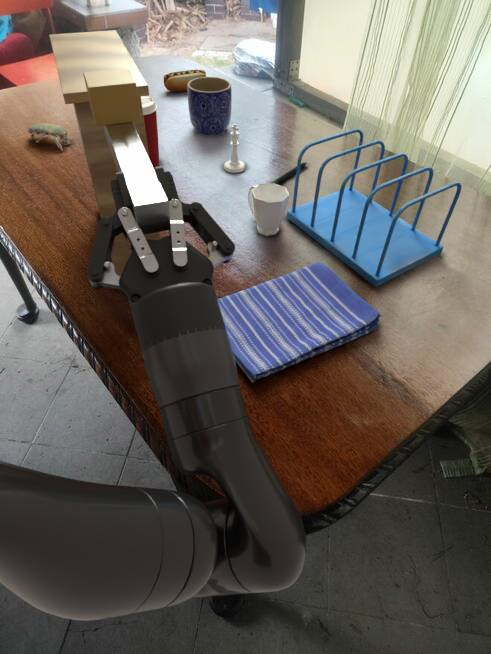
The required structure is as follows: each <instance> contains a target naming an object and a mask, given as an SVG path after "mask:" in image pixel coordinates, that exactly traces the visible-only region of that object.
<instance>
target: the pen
mask: <svg viewBox="0 0 491 654" xmlns="http://www.w3.org/2000/svg"><path fill="white" fill-rule="evenodd" d="M307 164H308V162H301V166H300V170H302V169H304V168H305V167H306V166H307ZM296 170H297V166H295V167H294V168H292V169H290V170H289V171H287V172H286V173H284V174H283V175H281V176H279V177H277V178H276V179H274V180H273V181H272V182H270V183H275V184H278V185H279V184H280V183H282V182H283V181H285V180H287V179H288V178H290V177H292V175H294V174H296Z"/></svg>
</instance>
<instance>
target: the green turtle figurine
mask: <svg viewBox="0 0 491 654" xmlns="http://www.w3.org/2000/svg"><path fill="white" fill-rule="evenodd" d="M27 132H28V133H29V134H31V135H30V137H31V139H29V141H31V142H32V141H33V140H34V138H35V135H37V136H40V135H42V136H41V137H39V139H36V140H35V143H40V142H41V140H42V139H43V138H46V137H51V139H52V140H53V142H54V143H55V144H56V146H57V147H58V148H59V149H60V151H61V152H62V151H64V150H63V147H62V144H61V143H60V141H63V142H64V143H63V145H65V146H67V145H69V144H71V141H70V139H69V135H68V132H67V129H66V128H65V127H63V125H59V124H57V123H47V122H46V123H45V122H44V123H43V122H35V123H33V124H31V125H30V126H29V127H28V130H27ZM58 138H59V140H58Z"/></svg>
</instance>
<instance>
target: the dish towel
mask: <svg viewBox="0 0 491 654" xmlns="http://www.w3.org/2000/svg"><path fill="white" fill-rule="evenodd" d="M217 300H218V303H219V307H220V310H221V314H222V317H223V320H224V324H225V327H226V331H227V334H228V337H229V341H230V344H231V348H232V351H233V354H234V358H235V363H237V365H238V366H239V368H240V369H241V371H242V372H243V373H244V374H245V375H246V377H247V378H248V379H249V380H250V382H251V383H255V382H256V381H258V380H260V379H262V378H265V377H268V376H271V375H272V374H275V373H277V372H280V371H283V370H284V369H287V368H289V367H291V366H294V365H297V364H299V363H301V362H303V361H305V360H307V359H310V358H311V359H312V358H313V357H315V356H319V355H321V354H323V353H325V352H327V351H329V350H333V349H334V348H337V347H339V346H342V345H345V344H347V343H349V342H352V341H354V340H356V339H358V338H360V337H362V336H365V335H367V334H370V333H371V332H373V331H374V330H377V329H378V328H379V327H380V324H379V322H380V318H381V317H382V314H381V313H380V312H379V311H378V310H377V309H376V308H375V307H374V306H372V305H371V304H369V303H368V302H367V301H365V300H364V299H363V298H362V297H360V296H359V295H358V293H357V292H355V291H354V290H353V289H352V288H351V287H350V286H349V285H348V284H347V283H346V282H345V281H344V280H343V279H342V278H341V277H340V276H339V275H337V274H336V272H334V271H332V270H331V268H329V266H327V265H326V264H324V263H323V262H320V261H316V262H314V263H312V264H309V265H308V266H304V267H301V268H300V269H297V270H295V271H291V272H289V273H285V274H284V275H281V276H278V277H276V278H273V279H270V280H267V281H264V282H261V283H258V284H257V285H253V286H251V287H249V288H245V289H243V290H240V291H237V292H235V293H232V294H229V295H225V296H223V297H221V298H220V297H219V298H217Z"/></svg>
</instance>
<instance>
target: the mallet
mask: <svg viewBox="0 0 491 654" xmlns="http://www.w3.org/2000/svg"><path fill="white" fill-rule="evenodd" d="M83 75H84V80H85V84H86V89H87V93H88V98H89V103H90V107H91V111H92V114H93V117H94V120H95V124H96V126H104V131H105V136H106V139H107V142H108V145H109V148H110V150H111V153H112V156H113V159H114V162H115V165H116V168H117V171H118V172H124V176H125V179H126V183H127V187H128V192H129V196H130V199H131V203H132V210H133V216H134V218H135V220H136V222H137V225H138V226H139V227H140V228H141V230H142V232H143V234H144V235H145V234H150V233H156V232H159V233H162V232H166V231H167V232H168V231H169V230H170V211H169V202H168V199H167V197H166V195H165V192H164V190H163V188H162V186H161V184H160V182H159V180H158V177H157V175H156V173H155V169H154V168H153V166H152V164H151V162H150V159H149V157H148V155H147V153H146V151H145V148H144V146H143V144H142V142H141V140H140V137H139V135H138V133H137V131H136V129H135V126H134V124H133V122H136V121H141V114H140V107H139V100H138V93H137V86H136V82H135V80H134V79H133V77H132V75H131V73H130V71H129V69H128V68H127V69H116V70H105V71H93V72H84V73H83Z"/></svg>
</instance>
